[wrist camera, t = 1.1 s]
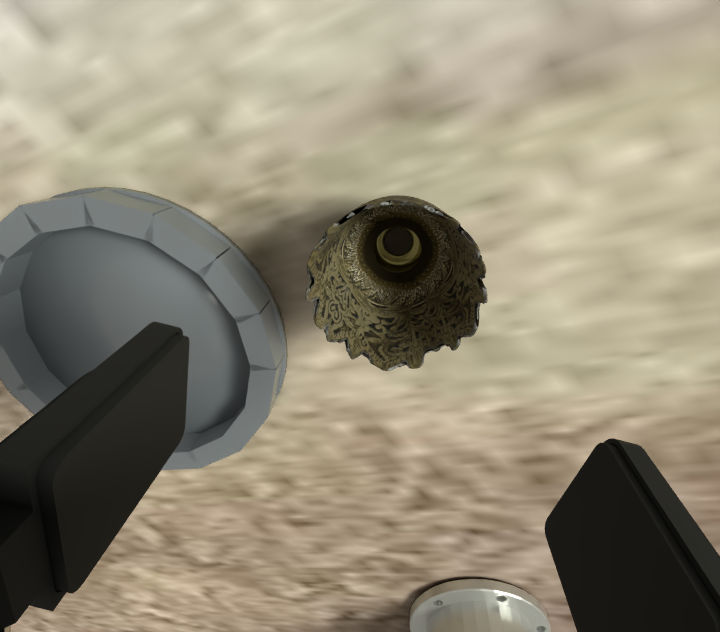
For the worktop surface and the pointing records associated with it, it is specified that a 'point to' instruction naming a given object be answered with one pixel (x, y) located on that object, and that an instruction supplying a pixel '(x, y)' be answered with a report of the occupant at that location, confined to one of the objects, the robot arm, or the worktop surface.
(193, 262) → the round dish
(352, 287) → the cup
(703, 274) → the worktop surface
